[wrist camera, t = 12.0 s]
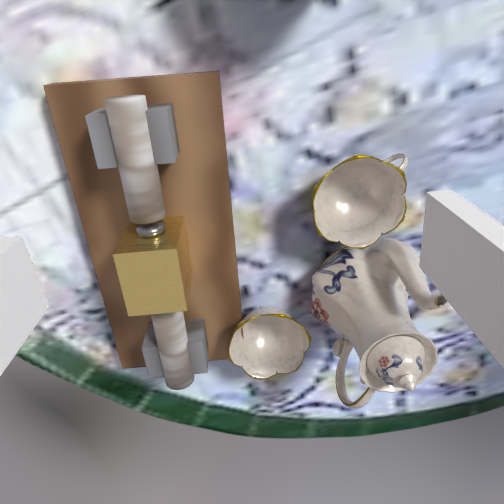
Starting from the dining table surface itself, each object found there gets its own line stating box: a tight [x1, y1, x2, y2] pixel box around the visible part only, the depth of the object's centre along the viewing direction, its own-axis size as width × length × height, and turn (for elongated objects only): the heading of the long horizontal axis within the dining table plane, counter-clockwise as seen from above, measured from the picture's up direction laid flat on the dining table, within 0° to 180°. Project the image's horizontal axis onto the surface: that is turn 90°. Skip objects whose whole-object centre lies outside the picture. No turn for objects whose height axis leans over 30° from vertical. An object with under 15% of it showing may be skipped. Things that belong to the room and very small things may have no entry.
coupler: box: [113, 215, 193, 316], centre depth 36 cm, size 5×8×7 cm, turn 4°
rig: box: [43, 71, 244, 390], centre depth 38 cm, size 14×30×7 cm, turn 4°
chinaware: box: [227, 154, 447, 408], centre depth 38 cm, size 28×17×17 cm, turn 159°
